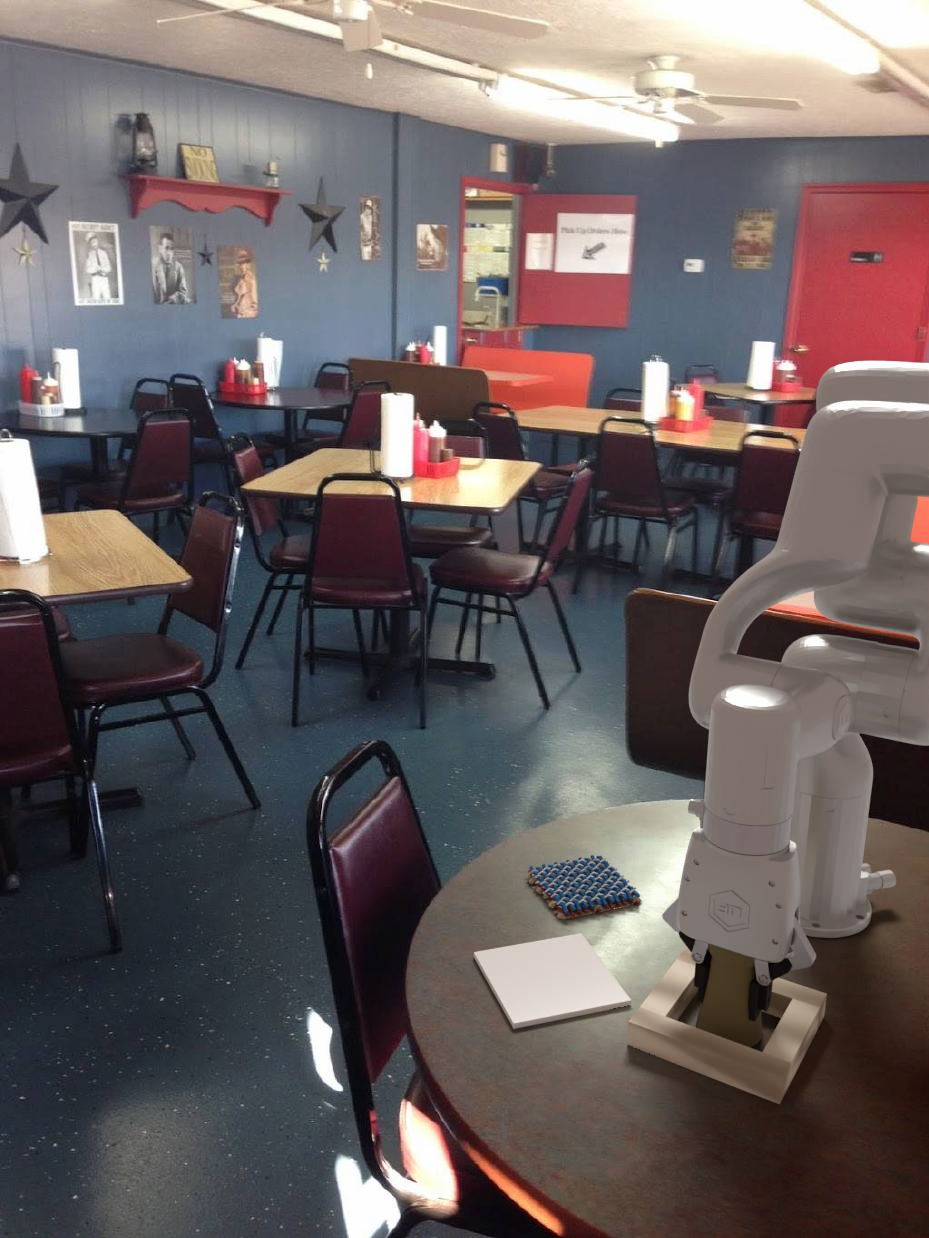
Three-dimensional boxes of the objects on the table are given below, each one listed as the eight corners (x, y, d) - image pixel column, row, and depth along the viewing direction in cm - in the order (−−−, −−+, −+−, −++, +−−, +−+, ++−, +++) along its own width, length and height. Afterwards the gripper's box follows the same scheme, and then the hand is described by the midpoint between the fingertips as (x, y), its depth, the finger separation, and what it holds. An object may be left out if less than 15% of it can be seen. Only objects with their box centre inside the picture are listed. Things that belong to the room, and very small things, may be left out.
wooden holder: (684, 968, 110) (686, 947, 109) (824, 1016, 103) (826, 993, 102) (627, 1044, 99) (628, 1021, 98) (779, 1104, 92) (782, 1079, 91)
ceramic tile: (581, 938, 115) (581, 933, 115) (630, 1005, 104) (631, 1000, 104) (473, 957, 112) (473, 952, 112) (513, 1028, 101) (513, 1023, 101)
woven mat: (601, 864, 131) (601, 849, 131) (644, 909, 122) (645, 893, 121) (521, 879, 128) (522, 864, 127) (560, 926, 118) (561, 910, 118)
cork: (764, 1053, 98) (774, 947, 94) (695, 1044, 99) (703, 939, 96) (760, 1011, 103) (770, 910, 100) (695, 1003, 104) (703, 903, 101)
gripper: (640, 818, 96) (630, 994, 102) (832, 870, 88) (811, 1060, 93) (672, 787, 102) (662, 955, 108) (855, 832, 94) (833, 1013, 99)
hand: (731, 1001), depth 100 cm, fingers closed on cork, 4 cm apart
